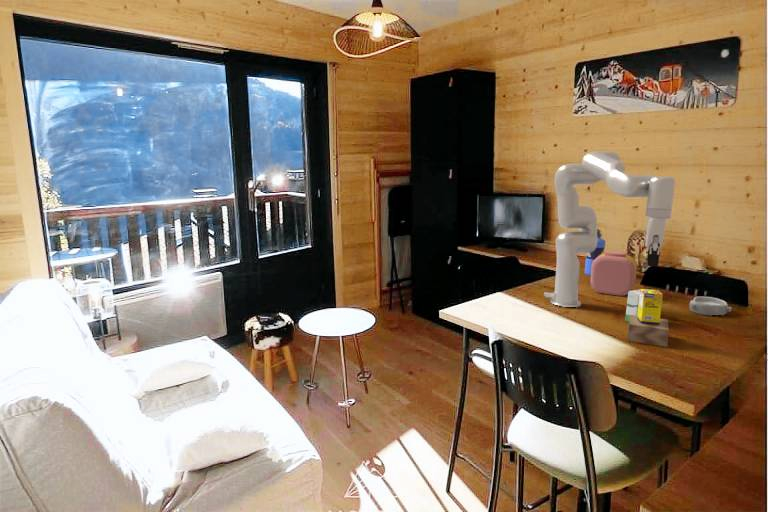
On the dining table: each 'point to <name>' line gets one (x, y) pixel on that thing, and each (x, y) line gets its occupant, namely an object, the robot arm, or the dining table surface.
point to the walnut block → (648, 332)
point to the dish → (709, 306)
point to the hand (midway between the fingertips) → (652, 263)
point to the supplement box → (649, 306)
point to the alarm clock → (613, 273)
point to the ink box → (632, 304)
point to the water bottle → (594, 253)
